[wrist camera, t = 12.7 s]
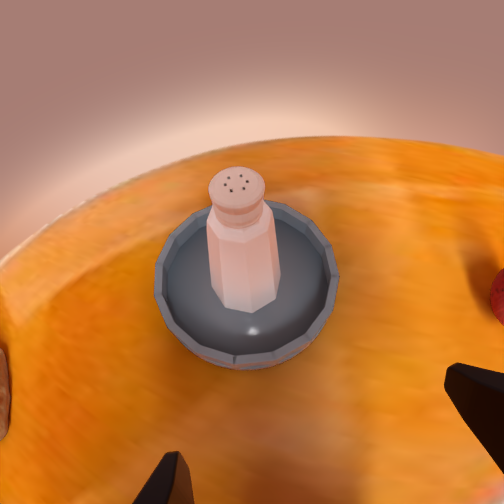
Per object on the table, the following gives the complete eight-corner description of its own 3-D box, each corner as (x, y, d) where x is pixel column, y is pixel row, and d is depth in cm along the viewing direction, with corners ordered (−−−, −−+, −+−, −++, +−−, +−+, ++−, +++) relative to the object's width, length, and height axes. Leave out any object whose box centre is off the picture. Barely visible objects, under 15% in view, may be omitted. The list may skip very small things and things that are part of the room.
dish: (310, 391, 21) (316, 387, 19) (137, 337, 24) (125, 327, 21) (343, 235, 28) (349, 218, 26) (198, 202, 30) (194, 185, 28)
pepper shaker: (273, 246, 26) (278, 141, 17) (288, 307, 24) (305, 218, 14) (208, 257, 26) (180, 156, 16) (216, 319, 23) (183, 237, 14)
